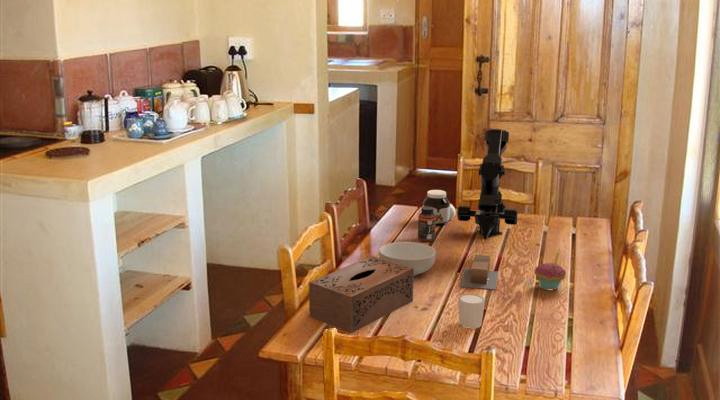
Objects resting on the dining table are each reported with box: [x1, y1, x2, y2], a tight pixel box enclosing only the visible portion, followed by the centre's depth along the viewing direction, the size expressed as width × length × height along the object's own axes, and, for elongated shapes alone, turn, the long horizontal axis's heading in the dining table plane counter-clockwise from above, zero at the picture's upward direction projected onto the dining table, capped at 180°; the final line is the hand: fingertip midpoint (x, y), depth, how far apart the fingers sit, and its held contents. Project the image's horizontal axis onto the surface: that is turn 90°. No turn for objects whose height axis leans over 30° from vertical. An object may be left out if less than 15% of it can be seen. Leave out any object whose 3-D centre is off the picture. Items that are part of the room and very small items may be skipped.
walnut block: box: [471, 254, 491, 284], centre depth 220 cm, size 4×4×12 cm
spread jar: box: [421, 189, 457, 227], centre depth 271 cm, size 12×11×12 cm
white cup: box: [457, 293, 486, 330], centre depth 189 cm, size 7×7×7 cm
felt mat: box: [460, 268, 499, 291], centre depth 219 cm, size 14×10×1 cm
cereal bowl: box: [378, 241, 437, 277], centre depth 224 cm, size 17×17×7 cm
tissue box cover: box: [308, 255, 415, 334], centre depth 197 cm, size 26×14×10 cm, turn 140°
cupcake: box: [534, 249, 567, 290], centre depth 212 cm, size 9×8×12 cm
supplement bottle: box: [417, 206, 437, 243], centre depth 252 cm, size 6×6×11 cm
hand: (484, 239), depth 232 cm, fingers closed
